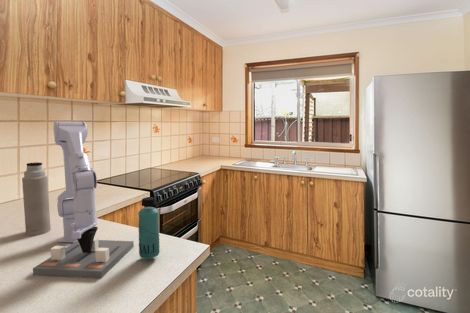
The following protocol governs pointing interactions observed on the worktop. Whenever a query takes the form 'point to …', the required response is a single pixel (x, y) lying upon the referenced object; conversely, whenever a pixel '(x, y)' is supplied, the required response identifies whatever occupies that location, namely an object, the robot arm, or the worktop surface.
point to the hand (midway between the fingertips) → (87, 251)
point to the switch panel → (83, 260)
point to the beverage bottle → (148, 229)
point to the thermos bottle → (36, 200)
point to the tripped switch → (95, 244)
